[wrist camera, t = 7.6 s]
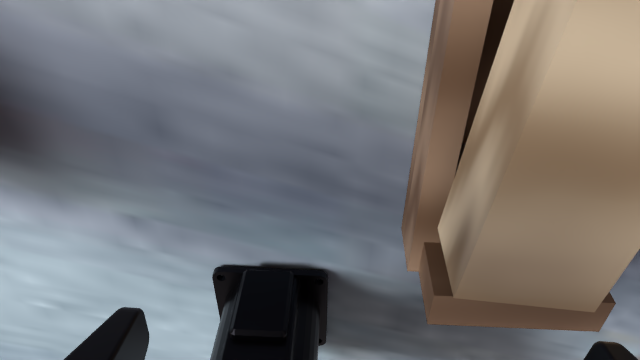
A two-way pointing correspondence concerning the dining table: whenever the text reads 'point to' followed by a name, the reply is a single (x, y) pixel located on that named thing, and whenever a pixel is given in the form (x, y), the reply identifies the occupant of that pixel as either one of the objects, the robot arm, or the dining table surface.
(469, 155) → the board
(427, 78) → the frame
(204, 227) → the dining table surface
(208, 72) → the dining table surface
